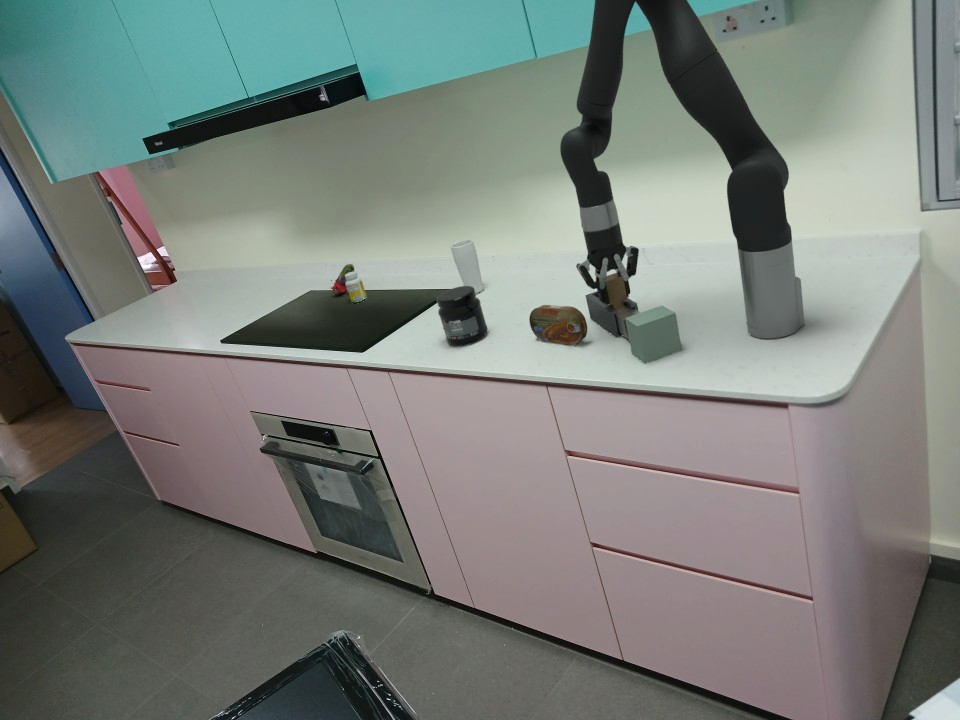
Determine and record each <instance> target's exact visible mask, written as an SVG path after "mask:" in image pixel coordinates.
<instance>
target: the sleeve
mask: <svg viewBox="0 0 960 720" xmlns="http://www.w3.org/2000/svg"><path fill="white" fill-rule="evenodd" d="M598 297H599V296H598V291H597V290H596V291H594V292H591V293H588V294H585V299H586V303H587V304H586V305H587V308H588V315H589V319H590V320H591V321H593V323H595V322H596V323H595V324H597V325H598V326H599V325H600V328H603V330H605V331H607V332H608V334H610V333H611V334H610V335H612V336H613V337H614V336H615V337H614V338H620V337H623V336H622V334H620V333H619V332H618V330H617V325H616V320H615V316H614V314H616V313H618V312H617V310H616V309H615V308H613V307H611V306H610V305H608V304H607V305H605V304H604V303H602V302H601V301H600V300H599V298H598ZM624 304H626V305H627V306H629V307H631V308H634V309H636V310H637V311H639V306H638V303H637V302H636V301H634V300H632V299H630V298H629V297H627V300H624Z"/></svg>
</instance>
